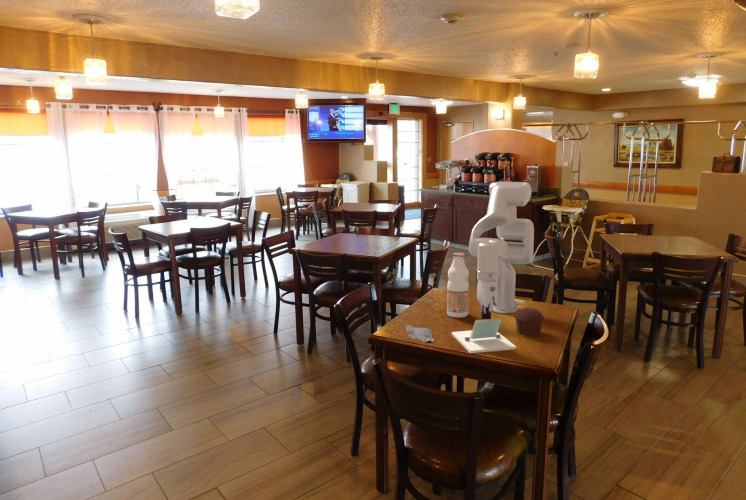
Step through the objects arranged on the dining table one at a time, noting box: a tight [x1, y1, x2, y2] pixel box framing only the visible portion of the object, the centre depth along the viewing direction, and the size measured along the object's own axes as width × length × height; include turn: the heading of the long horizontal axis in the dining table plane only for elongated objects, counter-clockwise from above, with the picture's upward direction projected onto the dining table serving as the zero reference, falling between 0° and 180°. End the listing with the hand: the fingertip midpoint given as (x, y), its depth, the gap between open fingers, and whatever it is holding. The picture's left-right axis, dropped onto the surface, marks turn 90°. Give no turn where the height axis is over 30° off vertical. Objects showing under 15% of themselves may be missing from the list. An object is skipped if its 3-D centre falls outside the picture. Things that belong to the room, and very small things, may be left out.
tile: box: [470, 317, 502, 339], centre depth 198 cm, size 10×10×1 cm
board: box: [451, 329, 517, 354], centre depth 202 cm, size 18×20×2 cm
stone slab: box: [405, 324, 435, 343], centre depth 210 cm, size 18×2×10 cm
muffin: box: [514, 307, 546, 337], centre depth 210 cm, size 12×11×10 cm
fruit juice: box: [446, 252, 470, 319], centre depth 231 cm, size 9×9×28 cm
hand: (485, 322), depth 198 cm, fingers closed
